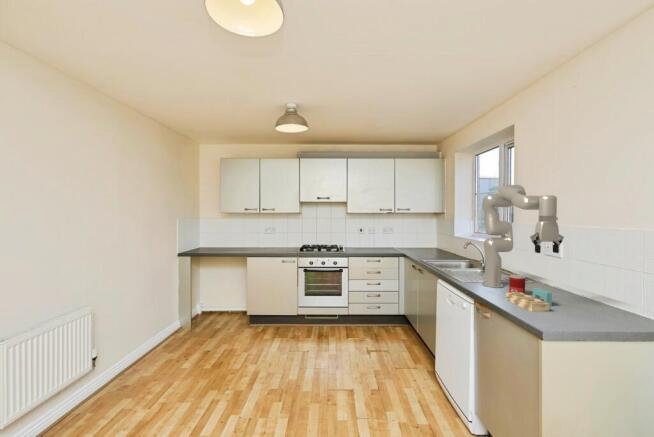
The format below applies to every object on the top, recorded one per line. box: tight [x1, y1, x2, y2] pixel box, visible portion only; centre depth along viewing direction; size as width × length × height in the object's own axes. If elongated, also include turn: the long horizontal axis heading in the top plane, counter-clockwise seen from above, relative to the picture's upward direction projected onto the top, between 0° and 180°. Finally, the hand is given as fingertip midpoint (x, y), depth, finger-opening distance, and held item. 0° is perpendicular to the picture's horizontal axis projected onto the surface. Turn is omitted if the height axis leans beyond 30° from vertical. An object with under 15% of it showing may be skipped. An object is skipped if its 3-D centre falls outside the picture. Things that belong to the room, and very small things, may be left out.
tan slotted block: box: [505, 292, 550, 313], centre depth 165 cm, size 20×9×4 cm, turn 4°
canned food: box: [508, 274, 526, 294], centre depth 185 cm, size 8×8×11 cm
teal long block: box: [532, 287, 553, 307], centre depth 169 cm, size 10×3×7 cm, turn 4°
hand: (546, 252), depth 161 cm, fingers open, 9 cm apart
